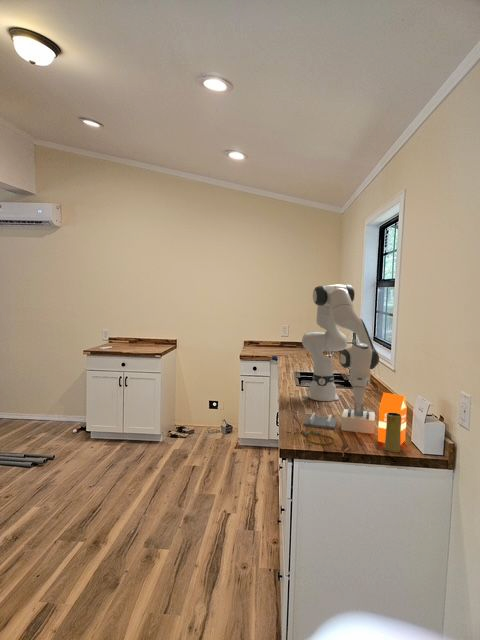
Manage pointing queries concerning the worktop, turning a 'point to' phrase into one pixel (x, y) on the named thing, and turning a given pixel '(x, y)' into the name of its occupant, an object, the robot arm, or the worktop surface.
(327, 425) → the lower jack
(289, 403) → the worktop surface
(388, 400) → the orange juice
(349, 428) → the block
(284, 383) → the worktop surface
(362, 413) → the plug
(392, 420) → the vase
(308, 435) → the coiled cable
